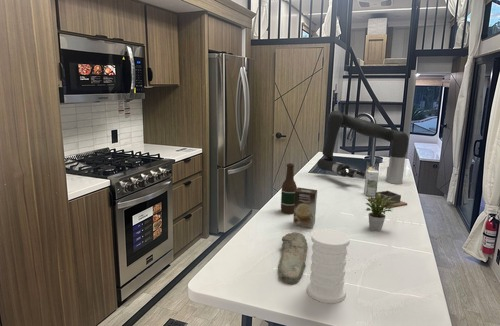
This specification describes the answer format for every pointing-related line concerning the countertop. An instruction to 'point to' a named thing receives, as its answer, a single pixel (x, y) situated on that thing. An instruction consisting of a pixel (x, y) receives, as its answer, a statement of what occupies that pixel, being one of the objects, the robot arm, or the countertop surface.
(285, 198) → the beer bottle
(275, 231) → the countertop surface
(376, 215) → the house plant
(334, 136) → the robot arm
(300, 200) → the coffee box
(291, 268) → the elongated rock
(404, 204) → the collar block
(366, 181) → the syrup box
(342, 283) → the decorative container
